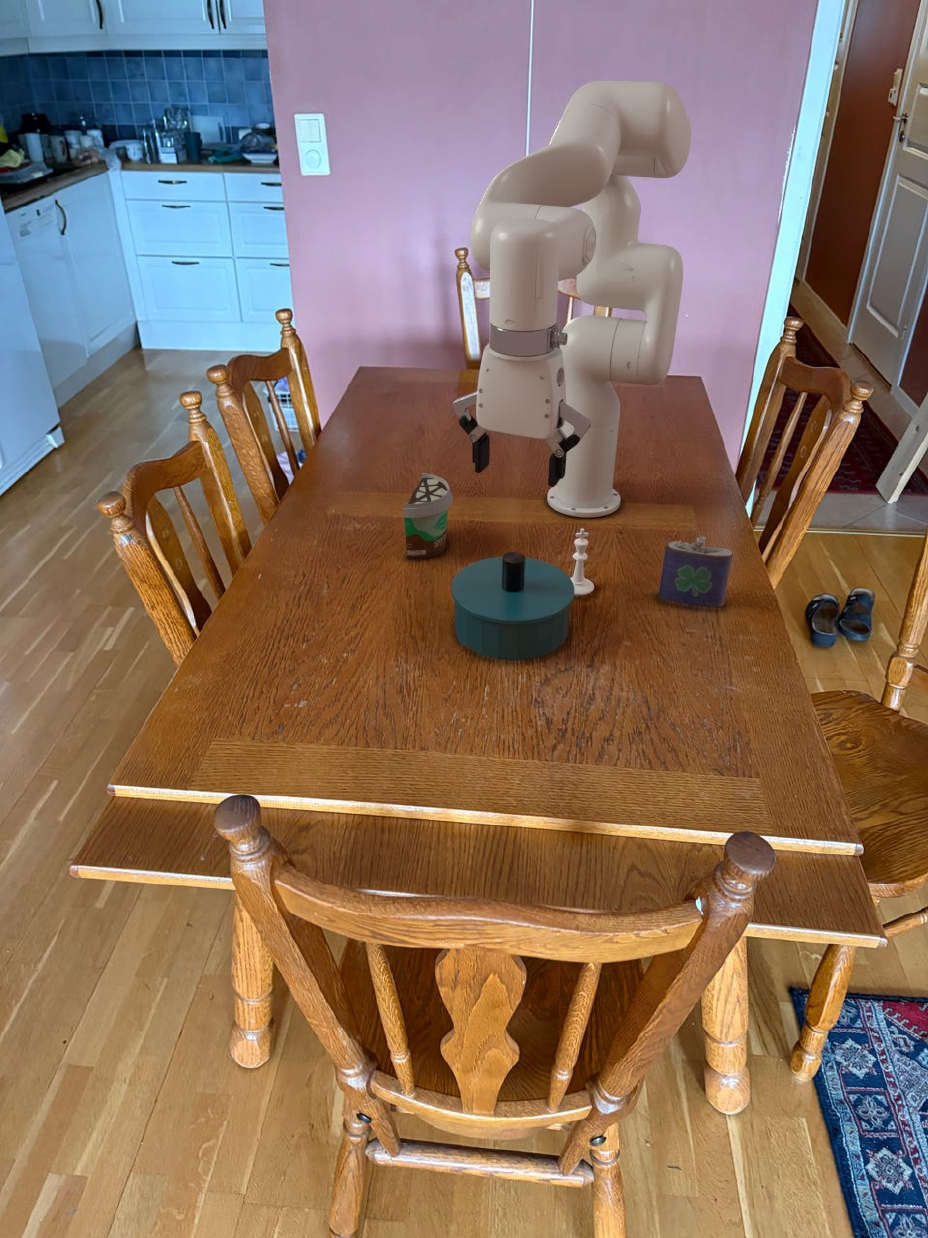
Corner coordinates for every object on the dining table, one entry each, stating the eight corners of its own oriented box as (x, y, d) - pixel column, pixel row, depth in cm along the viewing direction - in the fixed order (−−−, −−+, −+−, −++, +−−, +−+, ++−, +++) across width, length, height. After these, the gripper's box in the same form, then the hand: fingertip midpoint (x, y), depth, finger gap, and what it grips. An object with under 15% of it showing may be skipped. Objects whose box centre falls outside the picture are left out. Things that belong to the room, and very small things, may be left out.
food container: (443, 567, 140) (442, 509, 134) (404, 563, 141) (402, 505, 136) (460, 530, 150) (460, 474, 145) (423, 527, 151) (422, 471, 146)
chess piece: (558, 581, 137) (562, 521, 131) (590, 580, 137) (596, 520, 132) (563, 599, 133) (568, 538, 127) (597, 597, 133) (603, 536, 127)
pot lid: (480, 554, 132) (480, 518, 128) (589, 578, 126) (592, 541, 123) (430, 611, 119) (430, 573, 116) (550, 640, 114) (552, 601, 110)
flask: (723, 602, 132) (735, 537, 126) (722, 613, 130) (734, 547, 124) (658, 593, 134) (667, 528, 128) (656, 603, 132) (665, 538, 126)
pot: (481, 591, 134) (482, 552, 131) (582, 614, 129) (585, 575, 126) (436, 646, 123) (436, 606, 119) (545, 675, 117) (548, 633, 114)
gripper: (605, 337, 104) (594, 475, 113) (465, 319, 110) (466, 452, 119) (585, 357, 98) (575, 501, 108) (439, 338, 104) (442, 475, 114)
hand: (518, 475), depth 114 cm, fingers open, 9 cm apart
